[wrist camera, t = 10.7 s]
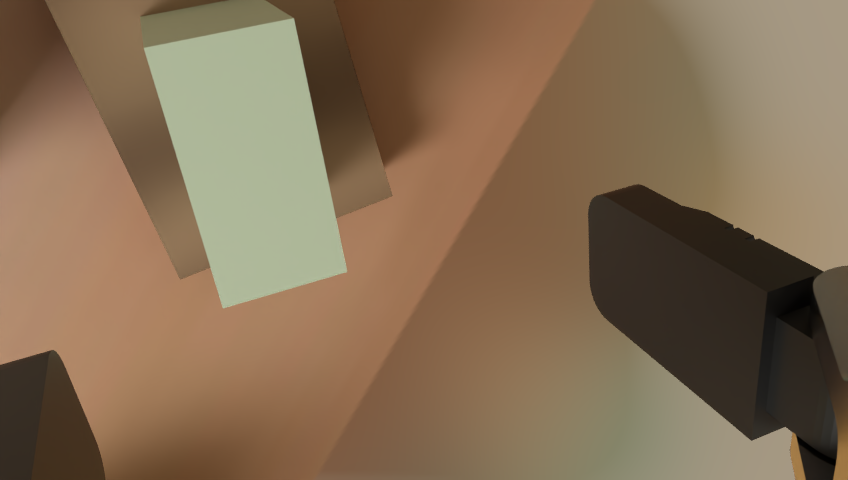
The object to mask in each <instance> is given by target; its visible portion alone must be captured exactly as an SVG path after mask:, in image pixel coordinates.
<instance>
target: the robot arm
mask: <svg viewBox="0 0 848 480" xmlns="http://www.w3.org/2000/svg"><path fill="white" fill-rule="evenodd" d="M588 219H589V220H588V221H589V269H590V287H591V292H592V296H593V299H594V301H595V304H596V306H597V307H598V309H599V311H600V312H601V314H602V315H603V316H604V317H605V318H606V319H607V320H608V321H609V322H610V323H612V324H613V325H614V326H615V327H616V328H617V329H619V330H620V331H621V332H622V333H624V334H625V335H626V336H627V337H628V338H630V339H631V340H632V341H633V342H634V343H635V344H637V345H638V346H639V347H640V348H641V349H643V350H644V351H645V352H646V353H647V354H649V355H650V356H651V357H652V358H653V359H655V360H656V361H657V362H658V363H659V364H661V365H662V366H663V367H664V368H665V369H666V370H668V371H669V372H670V373H671V374H672V375H674V376H675V377H676V378H677V379H678V380H680V381H681V382H682V383H683V384H684V385H686V386H687V387H688V388H689V389H690V390H692V391H693V392H694V393H695V394H696V395H698V396H699V397H700V398H701V399H702V400H704V401H705V402H706V403H707V404H708V405H710V406H711V407H712V408H713V409H714V410H716V411H717V412H718V413H719V414H720V415H722V416H723V417H724V418H725V419H726V420H728V421H729V422H730V423H731V424H733V426H735V427H736V428H737V429H738V430H739V431H741V432H742V433H743V434H744V435H745V436H746V437H748V438H749V439H750V440H754V439H757V438H759V437H761V436H764V435H766V434H769V433H771V432H773V431H776V430H778V429H781V428H783V427H787V428H788V429H789V430H790V431H792V439H791V446H790V456H791V460H792V465H793V470H794V475H795V480H848V266H841V267H836V268H833V269H829V270H827V271H825V272H823V271H821V270H819V269H818V268H816V267H814V266H812V265H810V264H808V263H806V262H804V261H802V260H800V259H798V258H796V257H794V256H792V255H790V254H788V253H786V252H784V251H783V250H781V249H778V248H777V247H775V246H773V245H771V244H769V243H767V242H765V241H763V240H761V239H756V240H755V239H754V236H753V235H751V234H749V233H747V232H745V231H744V230H742V229H740V228H735V229H734V228H733V225H732V224H730V223H728V222H726V221H724V220H722V219H720V218H718V217H716V216H714V215H712V214H710V213H709V212H705V211H701V210H697V209H693V208H689V207H685V206H681V205H679V204H677V203H675V202H674V201H671V200H670V199H668V198H666V197H664V196H662V195H660V194H658V193H656V192H655V191H653V190H651V189H649V188H647V187H645V186H643V185H639V184H638V185H632V186H629V187H626V188H622V189H618V190H615V191H612V192H608V193H605V194H601V195H597V196H596V197H594V198H593V199H592V200H591V202H590V206H589V212H588ZM0 480H105V473H104V468H103V463H102V459H101V455H100V451H99V448H98V445H97V442H96V440H95V437H94V435H93V432H92V430H91V428H90V425H89V423H88V421H87V418H86V416H85V413H84V411H83V409H82V406H81V404H80V402H79V399H78V397H77V394H76V392H75V390H74V387H73V385H72V382H71V380H70V378H69V375H68V373H67V371H66V368H65V366H64V364H63V362H62V360H61V358H60V356H59V355H58V354H57V352H56V351H54V350H51V351H47V352H44V353H40V354H37V355H33V356H30V357H26V358H23V359H19V360H16V361H12V362H9V363H5V364H2V365H0Z"/></svg>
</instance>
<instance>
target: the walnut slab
mask: <svg viewBox="0 0 848 480" xmlns="http://www.w3.org/2000/svg"><path fill="white" fill-rule="evenodd" d="M221 1H226V0H45V2H46V4H47V6H48V8H49V10H50V12H51V14H52V16H53V18H54V20H55V22H56V24H57V26H58V28H59V31H60V33H61V35H62V37H63V39H64V41H65V43H66V45H67V47H68V49H69V51H70V53H71V55H72V57H73V59H74V61H75V63H76V66H77V68H78V70H79V72H80V74H81V76H82V78H83V80H84V82H85V84H86V86H87V88H88V90H89V92H90V94H91V96H92V99H93V101H94V103H95V105H96V107H97V109H98V111H99V113H100V115H101V117H102V119H103V121H104V123H105V125H106V127H107V129H108V131H109V134H110V136H111V138H112V140H113V142H114V144H115V146H116V148H117V150H118V152H119V154H120V156H121V158H122V160H123V162H124V164H125V167H126V169H127V171H128V173H129V175H130V177H131V179H132V181H133V183H134V185H135V187H136V189H137V191H138V193H139V195H140V197H141V199H142V202H143V204H144V206H145V208H146V210H147V212H148V214H149V216H150V218H151V220H152V222H153V224H154V226H155V228H156V230H157V232H158V235H159V237H160V239H161V241H162V243H163V245H164V247H165V249H166V251H167V253H168V255H169V257H170V259H171V261H172V263H173V265H174V267H175V270H176V272H177V274H178V276H179V278H180V279H183V278H185V277H188V276H190V275H193V274H195V273H198V272H200V271H203V270H206V269H208V268H211V267H210V264H209V261H208V258H207V254H206V251H205V248H204V244H203V241H202V238H201V235H200V231H199V228H198V225H197V221H196V218H195V215H194V212H193V208H192V205H191V202H190V198H189V195H188V192H187V189H186V185H185V182H184V179H183V175H182V172H181V169H180V166H179V162H178V159H177V156H176V152H175V149H174V146H173V143H172V139H171V136H170V133H169V129H168V126H167V123H166V120H165V116H164V113H163V110H162V106H161V103H160V100H159V97H158V93H157V90H156V87H155V84H154V80H153V77H152V74H151V70H150V67H149V64H148V61H147V57H146V54H145V51H144V46H143V38H142V29H141V20H140V17H141V16H147V15H152V14H157V13H163V12H168V11H173V10H179V9H184V8H189V7H195V6H200V5H205V4H211V3H216V2H221ZM266 1H267V2H269V3H270V4H272V5H274V6H275V7H277V8H278V9H280V10H282V11H283V12H285V13H286V14H288V15H290V16H291V17H293V18H294V21H295V26H296V30H297V35H298V40H299V45H300V49H301V54H302V59H303V64H304V68H305V73H306V78H307V83H308V87H309V92H310V97H311V102H312V107H313V111H314V116H315V121H316V126H317V130H318V135H319V140H320V145H321V149H322V154H323V159H324V164H325V168H326V173H327V178H328V183H329V187H330V192H331V197H332V202H333V206H334V211H335V216H336V218H338V217H340V216H343V215H346V214H348V213H351V212H353V211H356V210H358V209H361V208H363V207H366V206H369V205H371V204H374V203H376V202H379V201H381V200H384V199H386V198H389V197H391V196H392V192H391V189H390V186H389V183H388V179H387V176H386V173H385V169H384V166H383V163H382V159H381V156H380V153H379V149H378V146H377V143H376V139H375V136H374V133H373V129H372V126H371V123H370V119H369V116H368V113H367V109H366V106H365V103H364V99H363V96H362V93H361V89H360V86H359V83H358V79H357V76H356V73H355V69H354V66H353V63H352V59H351V56H350V53H349V49H348V46H347V43H346V39H345V36H344V33H343V29H342V26H341V23H340V19H339V16H338V13H337V9H336V6H335V3H334V0H266Z"/></svg>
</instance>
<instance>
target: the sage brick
mask: <svg viewBox="0 0 848 480" xmlns="http://www.w3.org/2000/svg"><path fill="white" fill-rule="evenodd" d="M140 20H141V29H142V38H143V46H144V51H145V54H146V57H147V61H148V64H149V67H150V70H151V74H152V77H153V80H154V84H155V87H156V90H157V93H158V97H159V100H160V103H161V106H162V110H163V113H164V116H165V120H166V123H167V126H168V129H169V133H170V136H171V139H172V143H173V146H174V149H175V152H176V156H177V159H178V162H179V166H180V169H181V172H182V175H183V179H184V182H185V185H186V189H187V192H188V195H189V198H190V202H191V205H192V208H193V212H194V215H195V218H196V221H197V225H198V228H199V231H200V235H201V238H202V241H203V244H204V248H205V251H206V254H207V258H208V261H209V264H210V267H211V271H212V274H213V277H214V280H215V284H216V287H217V290H218V294H219V297H220V300H221V303H222V307H223V308H226V307H230V306H233V305H236V304H240V303H243V302H247V301H250V300H253V299H257V298H260V297H264V296H267V295H270V294H274V293H277V292H281V291H284V290H287V289H291V288H294V287H298V286H301V285H304V284H308V283H311V282H315V281H318V280H321V279H325V278H328V277H332V276H335V275H338V274H342V273H345V272H347V268H346V264H345V259H344V254H343V249H342V244H341V240H340V235H339V230H338V225H337V221H336V216H335V211H334V206H333V202H332V197H331V192H330V187H329V183H328V178H327V173H326V168H325V164H324V159H323V154H322V149H321V145H320V140H319V135H318V130H317V126H316V121H315V116H314V111H313V107H312V102H311V97H310V92H309V87H308V83H307V78H306V73H305V68H304V64H303V59H302V54H301V49H300V45H299V40H298V35H297V30H296V26H295V21H294V18H293V17H291V16H290V15H288V14H286V13H285V12H283V11H282V10H280V9H278V8H277V7H275V6H274V5H272V4H270V3H269V2H267V1H266V0H226V1H221V2H216V3H211V4H205V5H200V6H195V7H189V8H184V9H179V10H173V11H168V12H163V13H157V14H152V15H147V16H141V17H140Z"/></svg>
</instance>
